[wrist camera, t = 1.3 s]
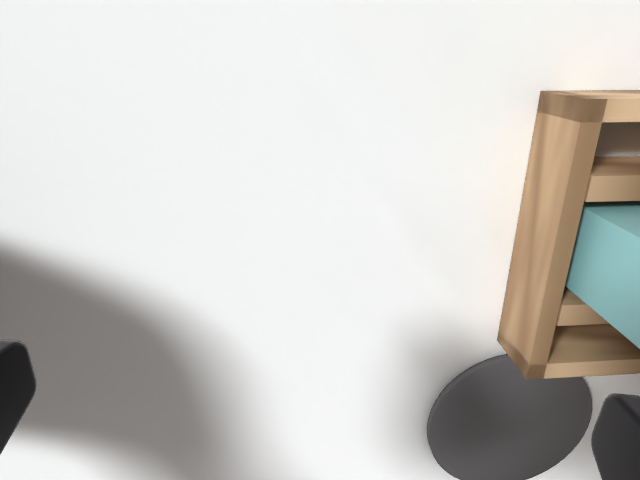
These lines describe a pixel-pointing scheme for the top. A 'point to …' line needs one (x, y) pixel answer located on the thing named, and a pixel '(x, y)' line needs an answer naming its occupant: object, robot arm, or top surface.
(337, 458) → the top surface
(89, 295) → the top surface
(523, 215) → the box
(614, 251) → the tall teal pillar
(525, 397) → the disc
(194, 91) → the top surface
